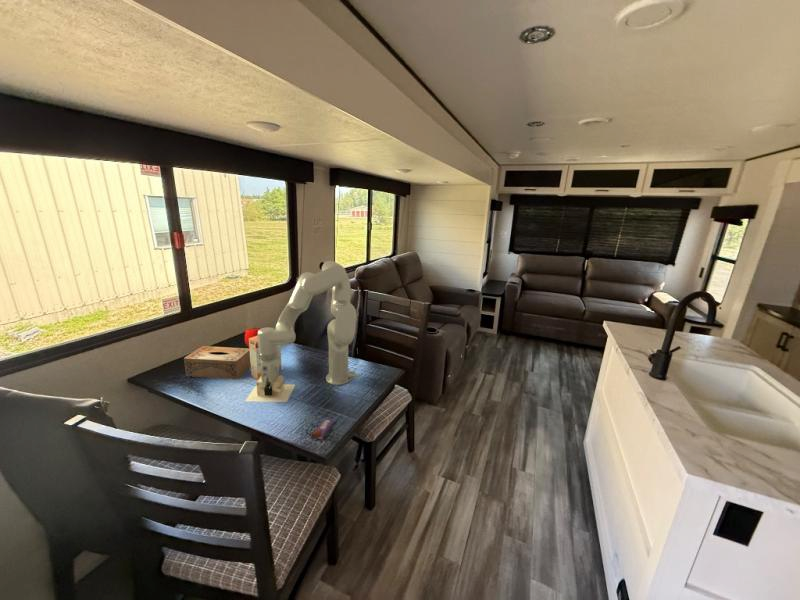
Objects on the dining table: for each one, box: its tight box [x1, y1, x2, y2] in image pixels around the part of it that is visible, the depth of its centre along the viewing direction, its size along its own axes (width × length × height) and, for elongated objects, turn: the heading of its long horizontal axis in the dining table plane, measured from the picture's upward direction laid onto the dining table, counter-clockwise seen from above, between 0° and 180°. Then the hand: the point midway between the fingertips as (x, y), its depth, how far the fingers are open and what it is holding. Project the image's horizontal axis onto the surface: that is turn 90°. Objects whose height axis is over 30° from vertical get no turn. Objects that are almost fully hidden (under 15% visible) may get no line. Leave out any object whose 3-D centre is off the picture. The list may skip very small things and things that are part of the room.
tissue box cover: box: [183, 345, 251, 380], centre depth 156 cm, size 26×14×10 cm, turn 89°
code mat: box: [244, 383, 296, 403], centre depth 140 cm, size 18×14×1 cm
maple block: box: [256, 375, 285, 396], centre depth 139 cm, size 10×6×7 cm, turn 94°
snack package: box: [309, 417, 337, 440], centre depth 118 cm, size 12×2×5 cm
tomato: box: [244, 326, 261, 348], centre depth 182 cm, size 12×12×13 cm
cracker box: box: [248, 336, 282, 380], centre depth 154 cm, size 14×6×21 cm, turn 148°
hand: (271, 390), depth 140 cm, fingers closed on maple block, 6 cm apart
